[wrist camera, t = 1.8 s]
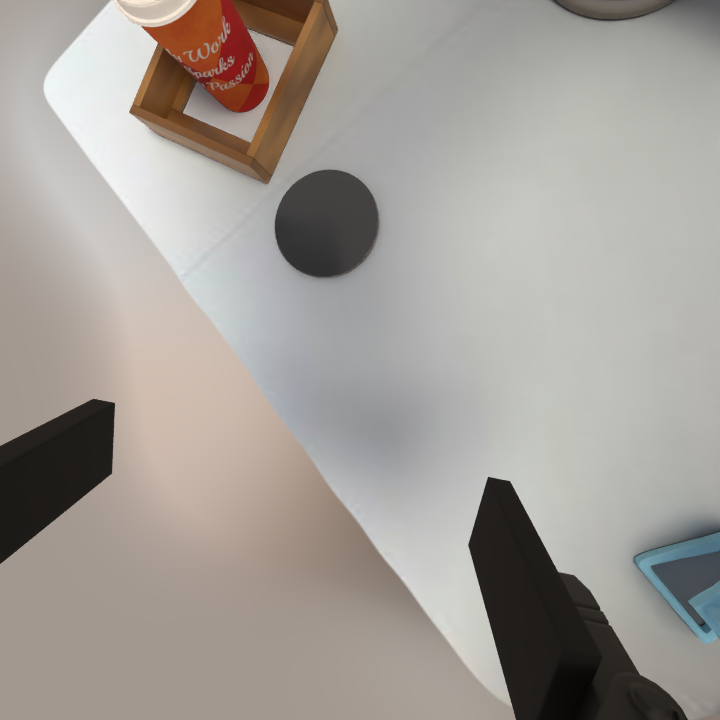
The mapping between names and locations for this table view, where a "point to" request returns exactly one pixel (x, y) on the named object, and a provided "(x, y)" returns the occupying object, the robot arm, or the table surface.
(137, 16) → the paper cup
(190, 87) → the wooden frame
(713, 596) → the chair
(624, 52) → the table surface
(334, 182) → the coaster
